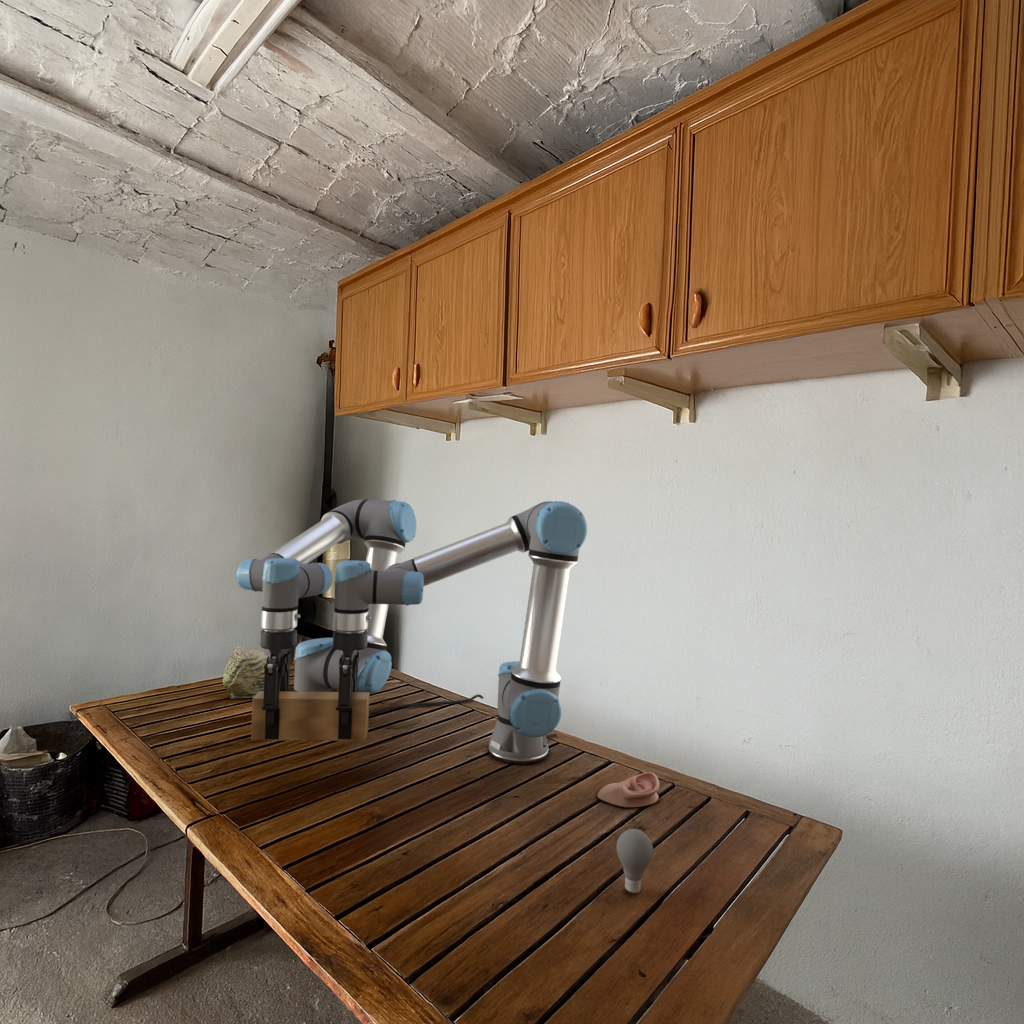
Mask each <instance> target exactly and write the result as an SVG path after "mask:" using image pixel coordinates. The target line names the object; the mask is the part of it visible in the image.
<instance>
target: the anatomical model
mask: <svg viewBox="0 0 1024 1024" xmlns="http://www.w3.org/2000/svg"><path fill="white" fill-rule="evenodd" d="M659 789H660V781H659V777H658V776H657V774H655V773H654V772H651V771H647V772H642V773H639V774H636V775H633V776H631V777H629V778H627V779H625V780H622V781H621V782H612V783H609V784H606V785H604V786H602V788H600V790H599V791H598V793H597V794H596V795H597V798H598V799H599V800H601V801H603V802H606V803H608V804H611V805H614V806H618V807H621V808H622V807H623V808H638V807H646V806H649V805H653V804H655V803H656V802H658V800H659V795H658V791H659Z"/></svg>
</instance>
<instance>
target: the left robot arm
mask: <svg viewBox="0 0 1024 1024" xmlns="http://www.w3.org/2000/svg"><path fill="white" fill-rule="evenodd" d="M416 517H417V516H416V514H415V512H414V509H413V507H412V506H411V505H410V504H409V503H408V502H406V501H401V500H395V499H393V500H383V499H365V498H363V499H356V500H355V499H354V500H351V501H349V502H346V503H343V504H341V505H339V506H337V507H335V508H333V509H331V510H329V511H328V512H327V513H325V514H323V516H322V517H321V519H320V521H319V522H317V523H315V524H314V525H312V526H311V527H309V528H308V529H307V530H304V531H303V532H301V533H300V534H298V535H297V536H295V537H294V538H292V539H290V540H289V541H288V542H286V543H284V544H283V545H281V546H279V547H278V548H276V549H275V550H273V551H272V552H270V553H269V554H267V555H265V556H264V557H262V558H260V559H258V558H249V559H245V560H243V561H242V562H241V563H240V564H239V565H238V566H237V567H238V568H237V571H236V581H237V584H238V586H239V587H240V588H242V589H243V590H247V591H253V592H262V599H261V600H262V601H261V602H262V603H261V604H262V605H261V615H260V628H261V629H262V630H261V631H260V648H261V649H263V650H267V651H269V654H268V657H267V662H266V663H267V664H265V665H264V674H265V677H264V700H263V707H262V710H266V722H265V739H278V738H279V716H280V708H279V706H278V705H279V695H280V691H290V676H291V675H290V672H291V671H290V670H291V668H290V667H291V655H292V650H291V649H292V648H295V652H294V653H295V654H294V658H293V660H294V672H293V691H296V692H338V691H339V659H340V657H341V655H343V651H341V650H336V649H335V648H333V637H321V638H313V639H307V640H304V641H302V642H299V643H297V642H298V630H297V629H296V628H297V626H298V619H300V618H301V614H299V613H298V609H299V599H303V598H307V597H313V596H314V597H316V596H319V595H321V594H324V593H326V592H328V591H329V590H330V588H331V587H332V585H333V582H334V581H333V580H334V576H333V571H332V570H331V568H330V566H328V565H327V564H325V563H322V562H313V561H314V560H315V559H316V558H318V557H320V556H321V555H322V554H324V553H326V551H328V550H329V549H330V548H332V547H333V546H335V545H336V544H337V545H338V544H343V543H345V542H347V541H349V540H354V539H360V540H363V545H364V546H365V547H366V548H367V553H366V558H365V561H367V562H369V563H370V567H371V570H374V571H385V570H386V569H387V568H388V567H389V566H391V565H393V564H396V563H398V557H399V554H401V553H403V552H404V551H405V549H406V544H408V543H411V542H412V541H413V540H414V538H415V537H416V533H417V518H416ZM389 606H390V604H369V611H368V614H367V616H371V619H370V620H368V628H367V629H366V631H367V632H368V641H367V647H366V648H365V649H362V650H357V651H359V655H360V659H359V663H358V681H357V690H358V692H369V695H373V694H376V693H378V692H379V691H381V690H382V689H383V687H384V686H385V685H386V683H387V682H388V680H389V677H390V674H391V671H392V665H393V662H392V655H391V654H390V652H388V651H387V647H388V646H387V645H388V644H387V643H386V641H385V640H384V632H385V627H386V621H387V615H388V611H389ZM477 698H480V699H482V700H484V696H483V695H482V694H475V695H473V696H471V697H469V698H466V699H459V700H447V701H433V702H432V701H430V702H415V703H413V702H412V703H405V704H397V705H390V706H385V707H380V708H375V709H374V710H369V715H372V714H373V715H374V714H376V713H379V712H382V711H387V710H394V709H401V708H410V707H420V706H422V707H423V706H438V705H454V704H462V703H468V702H471V701H474V700H475V699H477Z"/></svg>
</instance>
